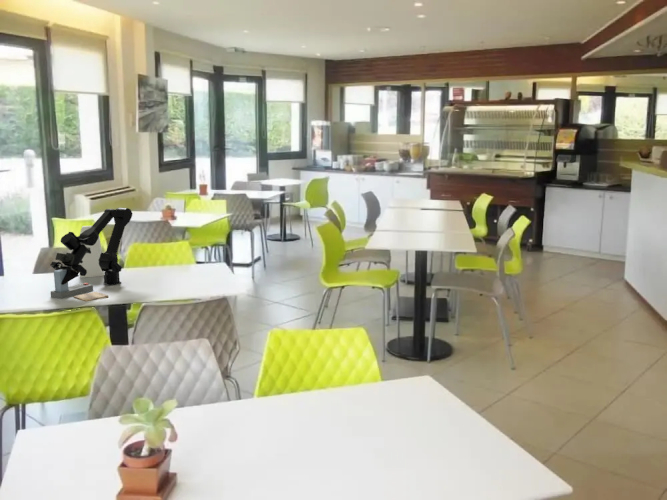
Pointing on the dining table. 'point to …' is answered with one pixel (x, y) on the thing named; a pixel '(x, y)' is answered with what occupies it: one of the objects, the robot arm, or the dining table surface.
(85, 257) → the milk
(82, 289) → the gray slotted board
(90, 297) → the cork mat
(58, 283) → the plug
